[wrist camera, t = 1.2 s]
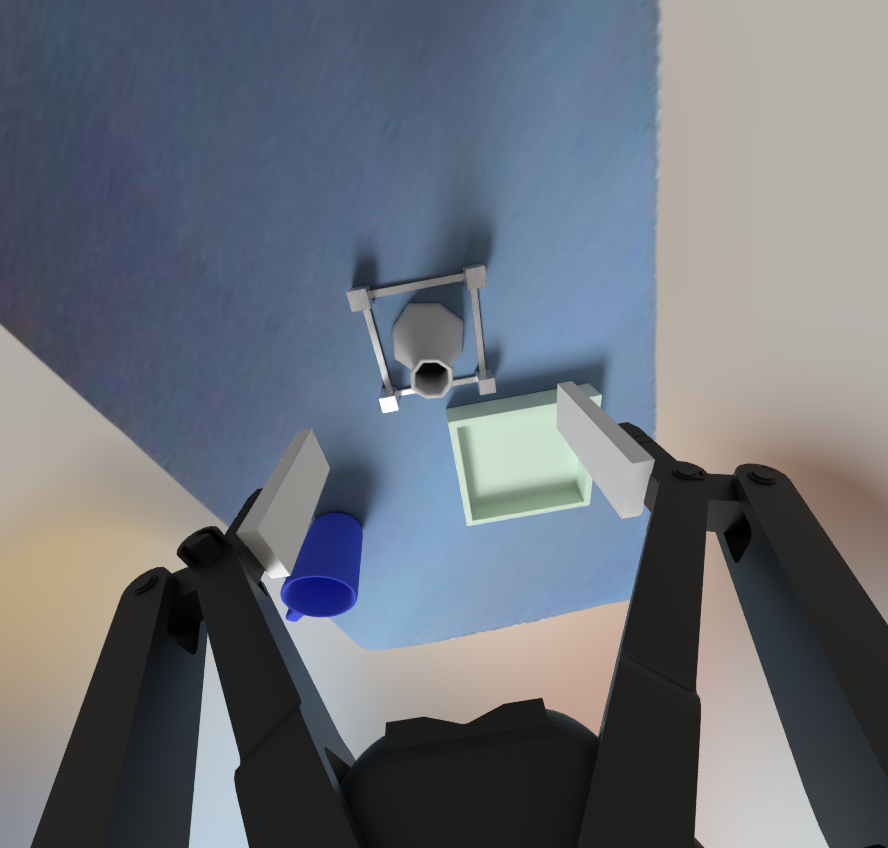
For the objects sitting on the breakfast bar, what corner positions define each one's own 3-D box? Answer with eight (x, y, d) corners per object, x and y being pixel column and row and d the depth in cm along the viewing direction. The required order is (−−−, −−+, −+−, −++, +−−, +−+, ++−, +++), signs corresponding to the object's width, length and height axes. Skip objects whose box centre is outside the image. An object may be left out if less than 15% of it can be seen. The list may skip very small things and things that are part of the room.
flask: (401, 289, 28) (394, 312, 20) (474, 314, 30) (497, 346, 21) (383, 362, 32) (370, 409, 23) (450, 381, 33) (462, 432, 25)
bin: (445, 408, 35) (448, 422, 32) (588, 383, 35) (601, 394, 32) (464, 508, 43) (467, 526, 41) (579, 488, 43) (589, 504, 40)
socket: (351, 287, 28) (346, 292, 26) (479, 263, 28) (485, 265, 26) (385, 401, 34) (383, 412, 32) (491, 382, 34) (495, 392, 32)
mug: (284, 546, 45) (252, 620, 36) (326, 495, 40) (301, 566, 32) (336, 566, 48) (318, 638, 39) (380, 521, 43) (371, 591, 35)
